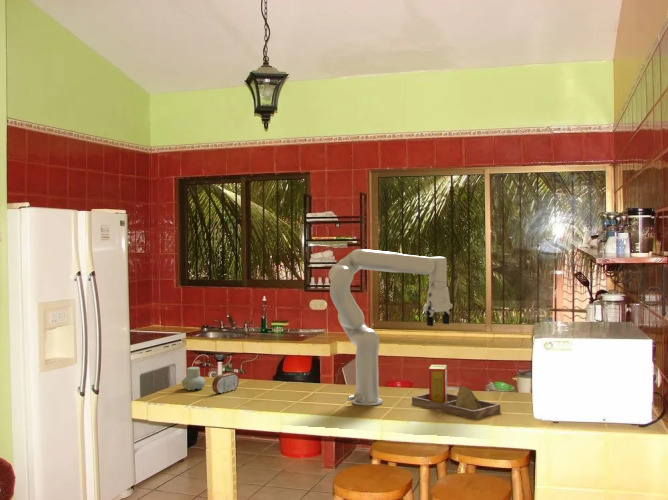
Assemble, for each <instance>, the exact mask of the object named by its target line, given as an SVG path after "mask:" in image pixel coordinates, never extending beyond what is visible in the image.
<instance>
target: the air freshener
mask: <svg viewBox="0 0 668 500" xmlns="http://www.w3.org/2000/svg"><path fill="white" fill-rule="evenodd" d="M200 370H201V369H200V367H199V366H190V367H187V368H186V374H187V375H186V377H185V378H184V379H182V381H181V386H182V387H183V388H184V389H185V390H187V389H190V390H189V391H196V390H195V389H198V390H201V389H202V388H204V387H205V386H206V380H205V378H204V377H202V376H201V371H200ZM193 389H194V390H193Z"/></svg>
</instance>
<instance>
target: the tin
mask: <svg viewBox="0 0 668 500" xmlns="http://www.w3.org/2000/svg"><path fill="white" fill-rule="evenodd" d="M239 383H240V382H239V376H238V375H237V374H236V373H234V372H227V373H223V374H217V376H215V377H214V379H213V381H212V384H211V386H212V387H211V388H212V391H213V392H214V393H215V394H219V393H222V392H226V391H229V390H233V389H235V390H237V388H238V386H239ZM226 393H227V392H226Z"/></svg>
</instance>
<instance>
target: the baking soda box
mask: <svg viewBox="0 0 668 500" xmlns="http://www.w3.org/2000/svg"><path fill="white" fill-rule="evenodd" d="M428 389H429V391H428V392H429V400H431V401H435V402H439V403H445V402H448V401H447V393H448V365H447V364H430V366H429V368H428Z"/></svg>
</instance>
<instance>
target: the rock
mask: <svg viewBox="0 0 668 500" xmlns="http://www.w3.org/2000/svg"><path fill="white" fill-rule="evenodd" d="M456 395H457V400H456V404H455V406H456V407H461V408H465V409H469V410H478V409H482V407H481V405H480V402H479V400H480V399H478V398H477V397H476V395H475V393H473V391H472V390H471V389H469V388H468V387H466V386H464V385H463V386H462V385H460V386H459V389H458V392H457V394H456Z"/></svg>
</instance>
